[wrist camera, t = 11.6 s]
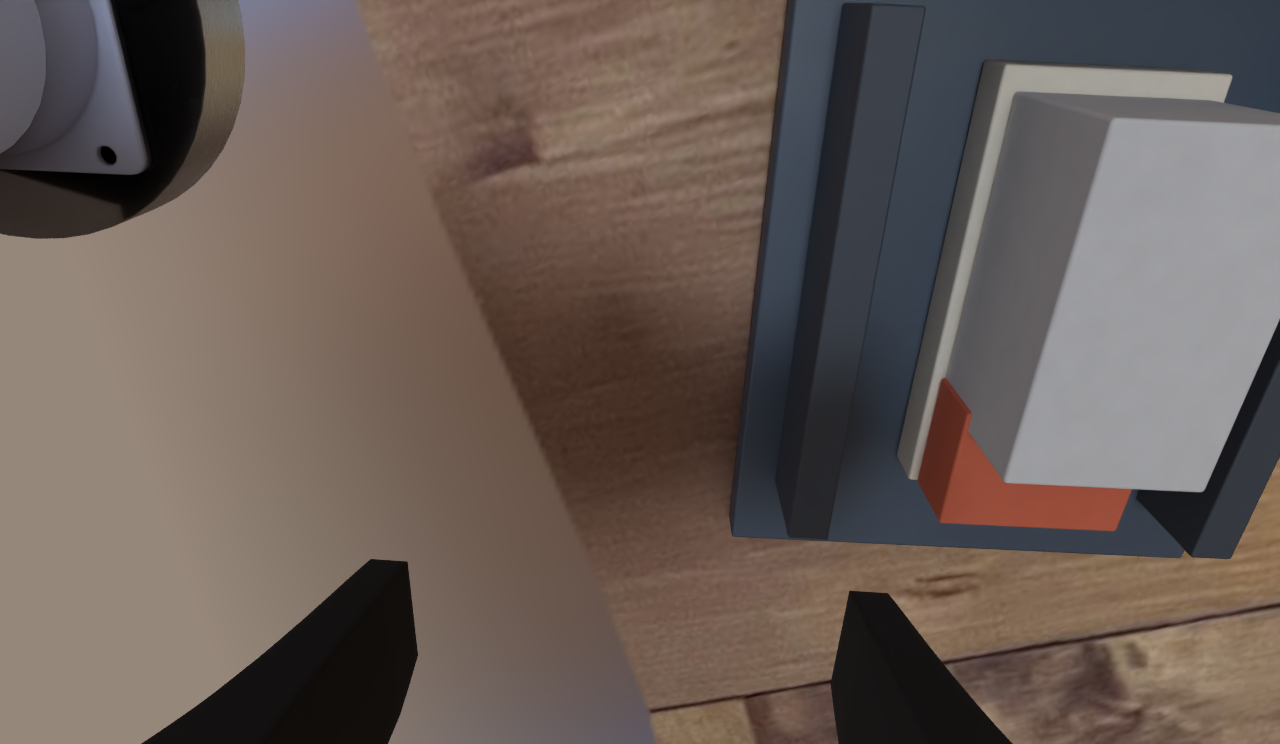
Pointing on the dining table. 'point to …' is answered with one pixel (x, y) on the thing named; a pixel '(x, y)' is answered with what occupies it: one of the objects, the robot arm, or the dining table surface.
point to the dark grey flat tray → (910, 255)
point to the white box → (1094, 294)
